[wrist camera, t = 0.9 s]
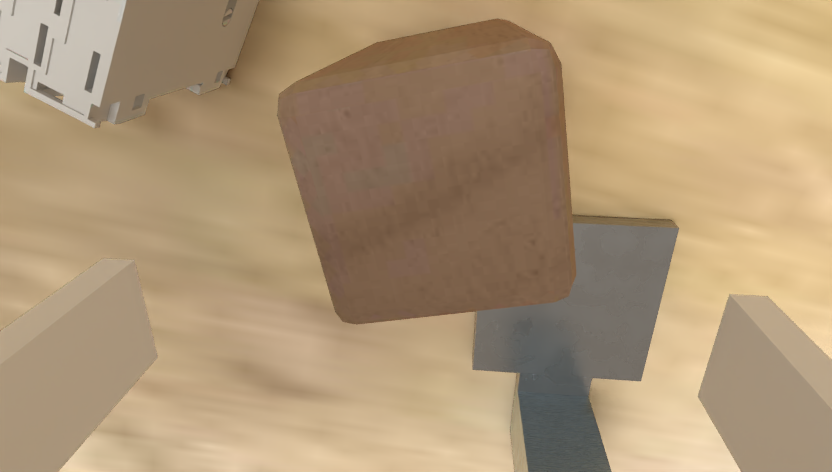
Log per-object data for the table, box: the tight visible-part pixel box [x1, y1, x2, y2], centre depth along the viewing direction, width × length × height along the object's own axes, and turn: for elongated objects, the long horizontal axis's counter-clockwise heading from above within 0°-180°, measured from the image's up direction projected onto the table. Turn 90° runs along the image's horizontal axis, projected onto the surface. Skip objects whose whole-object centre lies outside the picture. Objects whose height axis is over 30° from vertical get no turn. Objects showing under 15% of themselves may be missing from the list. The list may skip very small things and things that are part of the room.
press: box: [473, 216, 679, 472], centre depth 38 cm, size 14×22×12 cm, turn 179°
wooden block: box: [277, 19, 576, 324], centre depth 28 cm, size 10×10×20 cm
